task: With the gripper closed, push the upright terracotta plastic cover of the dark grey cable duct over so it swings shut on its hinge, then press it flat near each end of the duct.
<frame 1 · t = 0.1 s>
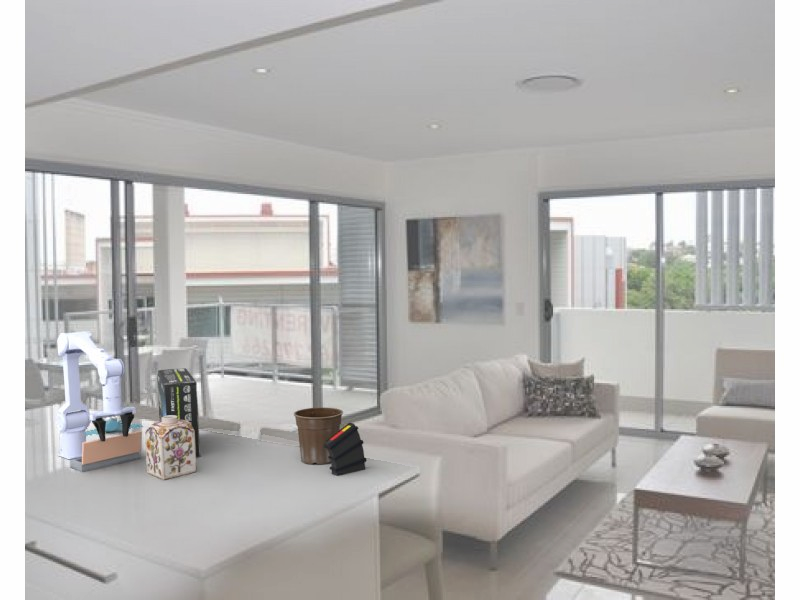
hand: (114, 438, 228), 10 cm above the kitchen island, fingers open, 7 cm apart
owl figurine: (107, 433, 283), on the kitchen island
plant pot: (320, 460, 233), on the kitchen island
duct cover: (112, 447, 232), point 6 cm above the kitchen island, hinge at 100.0°
router box: (179, 448, 254), on the kitchen island
cable duct: (105, 462, 236), on the kitchen island
magazine: (345, 473, 218), on the kitchen island
decorative jar: (171, 473, 222), on the kitchen island
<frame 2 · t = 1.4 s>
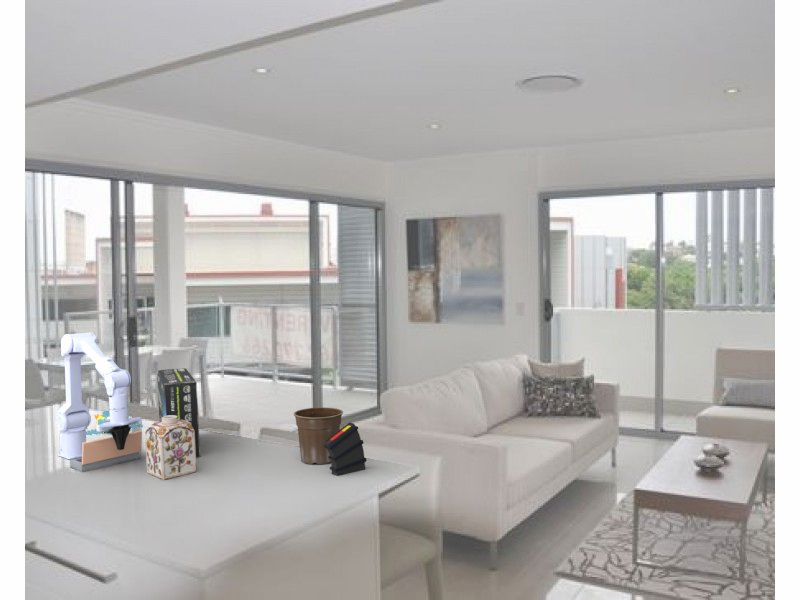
hand: (120, 449, 229), 6 cm above the kitchen island, fingers closed
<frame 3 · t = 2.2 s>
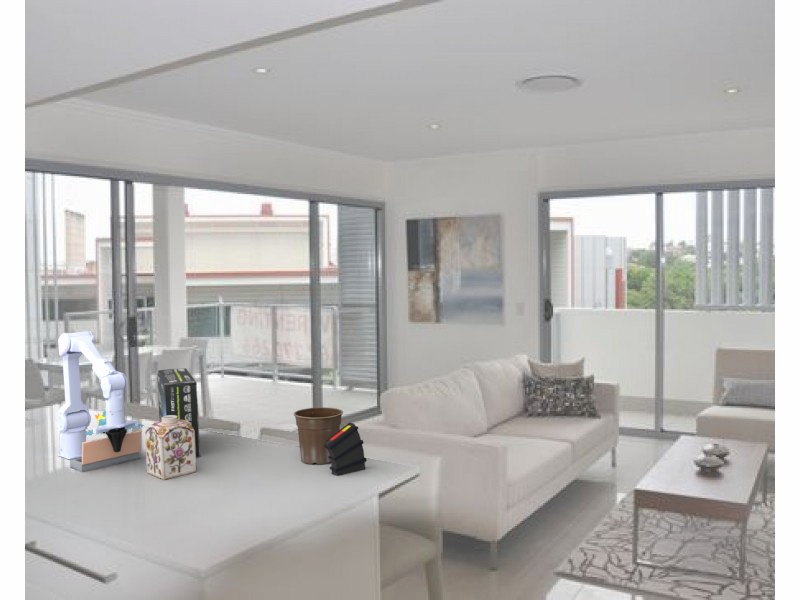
hand: (117, 451, 230), 5 cm above the kitchen island, fingers closed, pressing on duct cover
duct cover: (112, 447, 232), point 6 cm above the kitchen island, hinge at 98.4°, touching gripper
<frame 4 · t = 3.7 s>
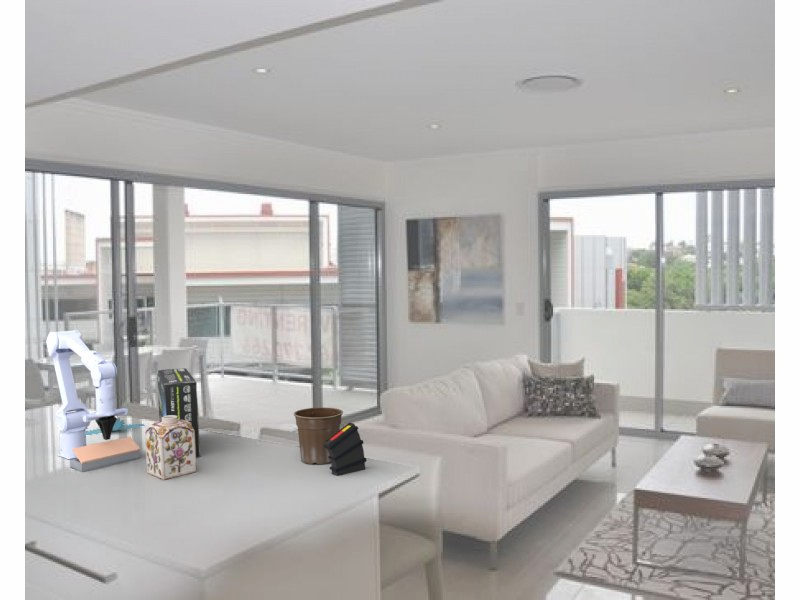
hand: (106, 439, 235), 8 cm above the kitchen island, fingers closed
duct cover: (106, 449, 235), point 5 cm above the kitchen island, hinge at 28.1°
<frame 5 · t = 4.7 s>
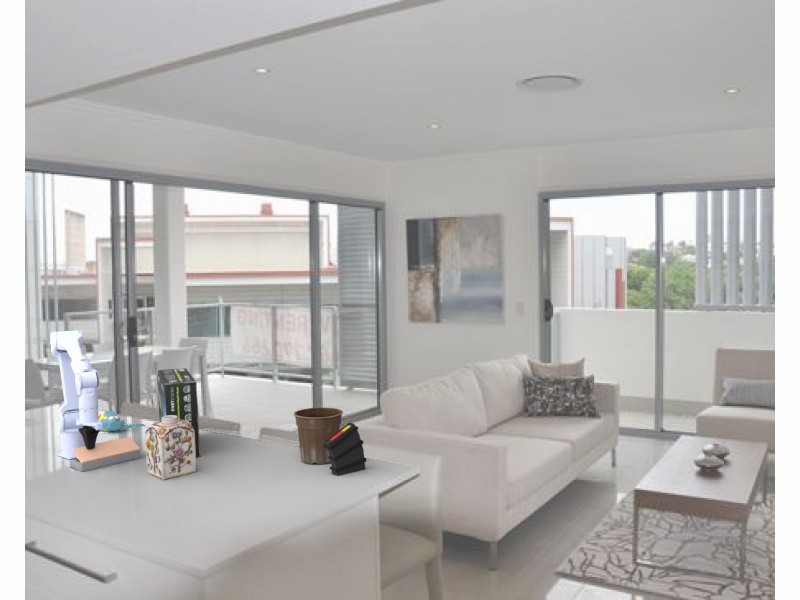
hand: (90, 448, 232), 6 cm above the kitchen island, fingers closed
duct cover: (106, 449, 235), point 5 cm above the kitchen island, hinge at 27.7°, touching gripper
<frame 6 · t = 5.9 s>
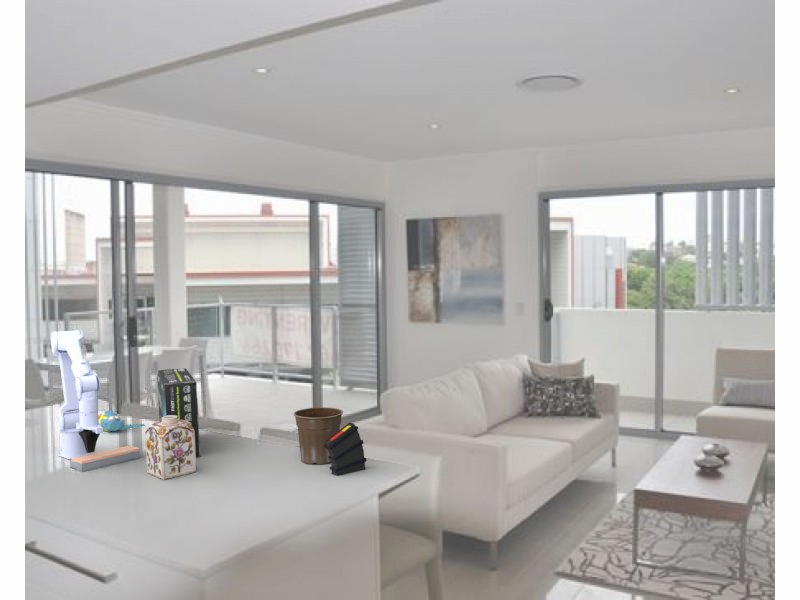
hand: (90, 452, 232), 5 cm above the kitchen island, fingers closed
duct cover: (106, 454, 235), point 3 cm above the kitchen island, hinge at -1.0°, touching cable duct
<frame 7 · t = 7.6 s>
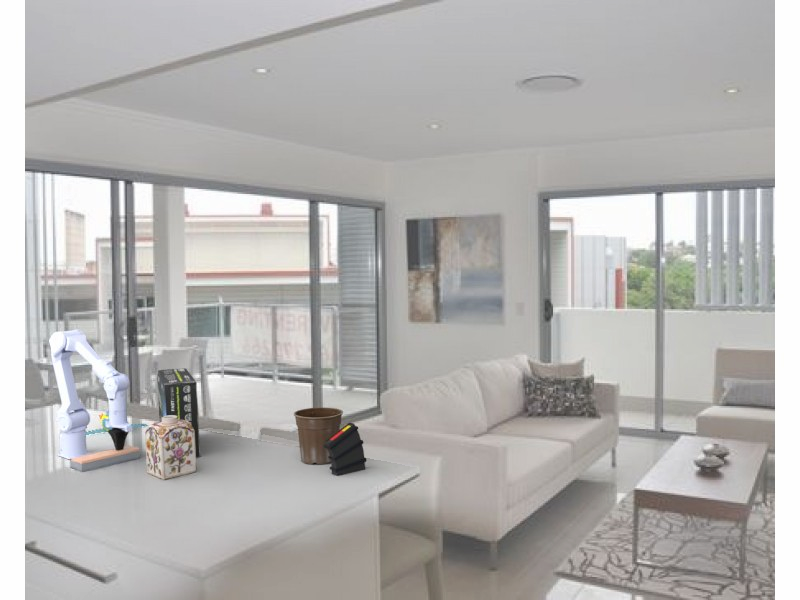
hand: (119, 449, 240), 3 cm above the kitchen island, fingers closed
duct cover: (106, 454, 235), point 3 cm above the kitchen island, hinge at -0.9°, touching cable duct, gripper
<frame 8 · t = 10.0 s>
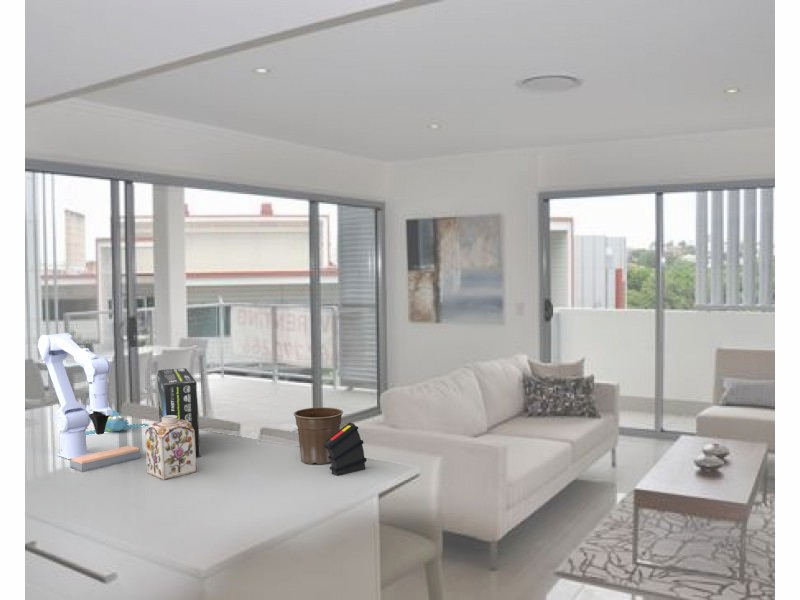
hand: (100, 433, 238), 9 cm above the kitchen island, fingers closed
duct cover: (106, 454, 235), point 3 cm above the kitchen island, hinge at -0.9°, touching cable duct
at the end: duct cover at -1° (first picture: +100°) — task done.
